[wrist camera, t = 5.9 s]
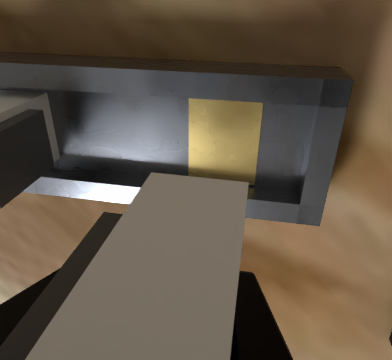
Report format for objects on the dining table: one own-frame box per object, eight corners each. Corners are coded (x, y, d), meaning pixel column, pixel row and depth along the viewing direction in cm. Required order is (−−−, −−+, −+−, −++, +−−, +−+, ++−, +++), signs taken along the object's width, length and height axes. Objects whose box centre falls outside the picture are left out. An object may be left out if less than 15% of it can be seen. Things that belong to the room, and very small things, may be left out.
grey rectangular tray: (340, 67, 17) (353, 80, 14) (312, 197, 20) (319, 226, 18) (-29, 51, 20) (-74, 58, 17) (4, 165, 24) (-29, 186, 21)
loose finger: (248, 182, 10) (217, 470, 4) (238, 281, 12) (207, 577, 6) (126, 169, 10) (-64, 400, 4) (135, 265, 12) (9, 519, 6)
